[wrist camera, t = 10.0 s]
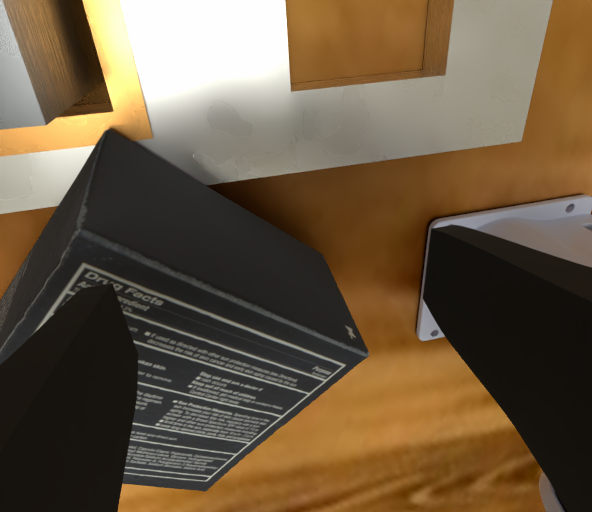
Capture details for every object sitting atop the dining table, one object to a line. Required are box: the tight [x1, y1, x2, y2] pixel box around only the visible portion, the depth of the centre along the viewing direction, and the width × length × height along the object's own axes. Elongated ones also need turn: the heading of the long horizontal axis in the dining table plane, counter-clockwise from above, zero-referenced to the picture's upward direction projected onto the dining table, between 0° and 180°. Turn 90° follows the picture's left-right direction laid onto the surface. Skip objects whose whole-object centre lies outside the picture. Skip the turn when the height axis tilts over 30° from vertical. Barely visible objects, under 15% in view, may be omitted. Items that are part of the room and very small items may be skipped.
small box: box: [0, 130, 369, 491], centre depth 16 cm, size 11×6×10 cm
